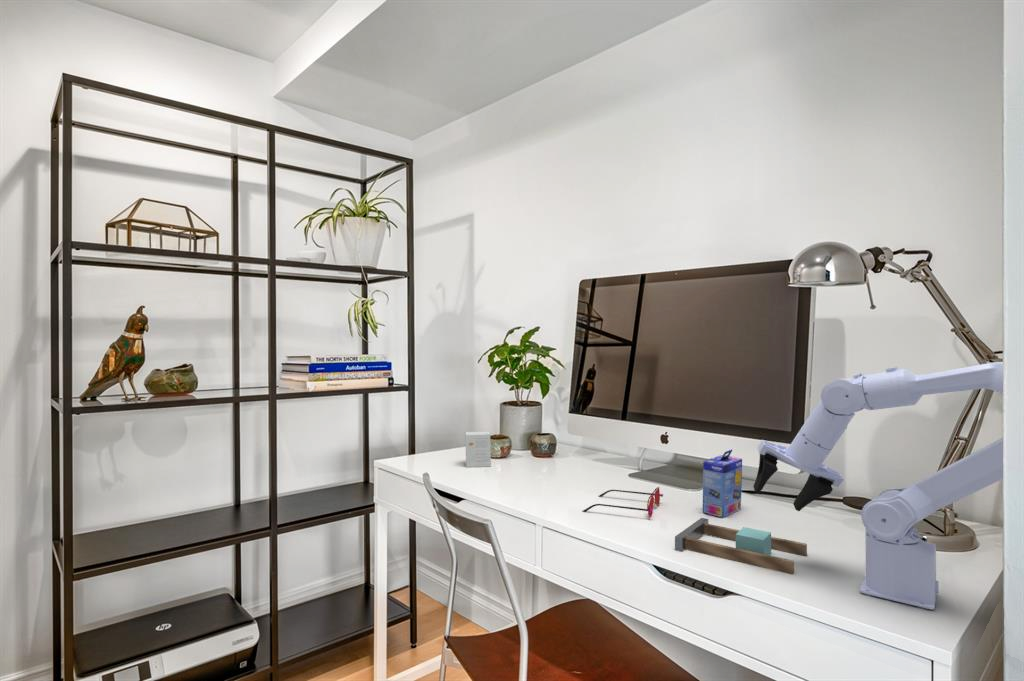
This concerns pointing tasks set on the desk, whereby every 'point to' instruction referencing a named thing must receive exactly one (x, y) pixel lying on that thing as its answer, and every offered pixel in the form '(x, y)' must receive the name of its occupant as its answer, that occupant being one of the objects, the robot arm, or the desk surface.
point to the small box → (478, 449)
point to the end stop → (690, 533)
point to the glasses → (649, 508)
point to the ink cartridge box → (722, 485)
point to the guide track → (745, 555)
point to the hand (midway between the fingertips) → (775, 498)
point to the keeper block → (754, 540)
